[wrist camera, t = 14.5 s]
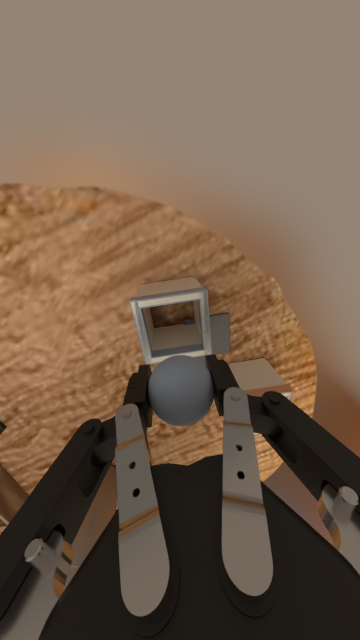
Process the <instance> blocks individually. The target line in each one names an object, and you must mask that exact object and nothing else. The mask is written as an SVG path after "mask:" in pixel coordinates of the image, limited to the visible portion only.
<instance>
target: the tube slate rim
mask: <svg viewBox="0 0 360 640" xmlns="http://www.w3.org/2000/svg"><path fill="white" fill-rule="evenodd" d="M188 301H193V309H194V318H195V323H193V324H186V325H184V324H179V325H172V326H166V327H159V328H154V325H153V320H152V316H151V311H150V307H155V306H162V305H168V304H175V303H181V302H188ZM130 305H131V309H132V313H133V317H134V321H135V325H136V328H137V332H138V336H139V340H140V344H141V348H142V352H143V356H144V360H145V364H156V363H161V362H162V361H163V360H165V359H167V358H169V357H172V356H176V355H186V356H191V357H193V358H194V357H200V356H205V355H211V354H212V347H211V333H210V319H209V305H208V292H207V289H206V288H205V287H202V286H201V285H200V283H199V282H198V281H197V279H196V278H195V277H188V278H181V279H174V280H168V281H161V282H154V283H147V284H141V285H140V287H139V289H138V291H137V293H136V295H135V297H132V298H131V300H130Z"/></svg>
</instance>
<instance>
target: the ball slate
mask: <svg viewBox="0 0 360 640" xmlns="http://www.w3.org/2000/svg"><path fill="white" fill-rule="evenodd" d="M148 397H149V402H150V404H151V407H152V409H153V410H154V412H155V413H156V414H157V416H158V417H159V418H161V419H162V420H163V421H165V422H167V423H169V424H171V425H175V426H187V425H191V424H194V423H196V422H197V421H199V420H200V419H202V418H203V417H204V416H205V415H206V414H207V412H208V411H209V409H210V407H211V405H212V402H213V399H214V384H213V380H212V376H211V374H210V372H209V370H208V369H207V368H206V366H205V365H204V364H203V363H201V362H200V361H199V360H197V359H195V358H193V357H191V356H186V355H176V356H172V357H169V358H167V359H165V360H163V361H162V362H161V363H159V364H158V365H157V366H156V368H155V369H154V371H153V372H152V374H151V377H150V379H149V384H148Z"/></svg>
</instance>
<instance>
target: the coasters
mask: <svg viewBox="0 0 360 640" xmlns="http://www.w3.org/2000/svg"><path fill="white" fill-rule="evenodd" d="M209 319H210V333H211V347H212V354H220V353H226V352H230V328H229V313H224V314H217V315H210V316H209ZM193 323H195V318H191V319H184V325H186V324H193ZM194 358H195V359H197V360H199V361H200V362H201V363H203V364H204V365H205V366H206V360H205V356H200V357H194Z"/></svg>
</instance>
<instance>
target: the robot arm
mask: <svg viewBox="0 0 360 640" xmlns="http://www.w3.org/2000/svg"><path fill="white" fill-rule="evenodd" d="M205 360H206V368H207V369H208V370H209V372H210V374H211V376H212V380H213V384H214V400H215V404H216V407H217V410H218V413H219V416H224V422H223V454H221V455H215V456H209V457H205V458H203V459H201V460H199V461H197V462H195V463H193V464H191V465H188V466H185V465H178V464H170V463H167V464H161V465H155V466H154V465H153V461H152V457H151V452H150V448H149V444H148V439H147V436H146V433H147V428H148V427H152V414H153V409H152V407H151V404H150V402H149V397H148V384H149V379H150V377H151V374H152V372H151V368H150V365H149V364H146V365H140V366H139V370H138V373H133V374H132V376H131V377H130V378H129V382H128V386H127V390H126V394H125V399H124V403H123V406H122V407H121V408H120V409H119V410H118V411H117V412H116V415H115V416H114V417H113V418H111V419H109V420H106V421H104V422H102V423H101V421H100V420H99V419H90V420H88V421H86V422H85V423H83V424H82V425H81V426H80V427H79V429H78V430H77V431H76V433H75V434H74V435H73V437H72V438H71V439H70V441H69V442H68V444H67V445H66V446H65V448H64V449H63V450H62V452H61V453H60V454H59V456H58V457H57V459H56V460H55V461H54V463H53V464H52V465H51V467H50V468H49V469H48V471H47V472H46V474H45V475H44V476H43V478H42V479H41V480H40V482H39V483H38V484H37V486H36V487H35V489H34V490H33V491H32V493H31V494H30V495H29V497H28V498H27V499H26V501H25V502H24V504H23V505H22V506H21V508H20V509H19V510H18V512H17V513H16V515H15V516H14V517H13V519H12V520H11V521H10V523H9V524H8V525H7V527H6V528H5V530H4V531H3V532H2V534H1V535H0V640H360V458H359V457H358V456H357V455H355V454H354V453H353V452H352V451H351V450H349V449H348V448H347V447H346V446H344V445H343V444H342V443H341V442H339V441H338V440H337V439H336V438H335V437H333V436H332V435H331V434H330V433H329V432H327V431H326V430H325V429H324V428H323V427H321V426H320V425H319V424H318V423H317V422H315V421H314V420H313V419H312V418H311V417H309V416H308V415H307V414H306V413H304V412H303V411H302V410H301V409H300V408H298V407H297V406H296V405H295V404H294V403H292V402H291V401H290V400H289V399H287V398H286V397H285V396H284V395H282V394H281V393H279V392H276V391H267V392H265V393H264V394H263V395H262V397H259V396H252V395H248V394H246V392H245V391H244V390H242V389H240V387H239V385H238V383H237V381H236V379H235V377H234V375H233V373H232V371H231V369H230V367H229V365H228V363H227V362H225V361H224V360H217V358H216V355H215V354H211V355H205ZM254 433H259V434H262V436H263V437H264V438H265V439H266V440H267V442H268V443H269V444H270V445H271V446H272V447H273V449H274V450H275V451H276V452H277V453H278V455H279V456H280V457H281V458H282V459H283V460H284V462H285V463H286V464H287V465H288V466H289V467H290V469H291V470H292V471H293V472H294V473H295V475H296V476H297V477H298V478H299V479H300V481H301V482H302V483H303V484H304V485H305V486H306V488H307V489H308V490H309V491H310V492H311V494H312V495H313V496H314V497H315V498H316V499H317V501H318V513H319V516H320V518H321V520H322V522H323V524H324V525H325V527H326V528H327V530H328V531H329V533H330V535H331V537H332V540H333V543H334V547H333V546H332V545H331V544H330V543H329V542H328V541H327V540H326V539H324V538H323V537H322V536H321V535H320V534H319V533H318V532H317V531H316V530H315V529H313V528H312V527H311V526H310V525H309V524H308V523H307V522H306V521H305V520H304V519H303V518H301V517H300V516H299V515H298V514H297V513H296V512H295V511H294V510H293V509H291V508H290V507H289V506H288V505H287V504H286V503H285V502H284V501H282V500H281V499H280V498H279V497H278V496H277V495H276V494H275V493H274V492H273V491H272V490H271V489H269V488H268V487H267V486H266V485H265V484H264V483H263V482H262V481H261V480H260V476H259V469H258V461H257V454H256V447H255V440H254ZM114 457H115V460H116V467H114V466H112V465H111V463H112V461H113V459H114ZM117 499H118V509H117V511H116V505H117ZM115 511H116V512H115Z"/></svg>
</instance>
